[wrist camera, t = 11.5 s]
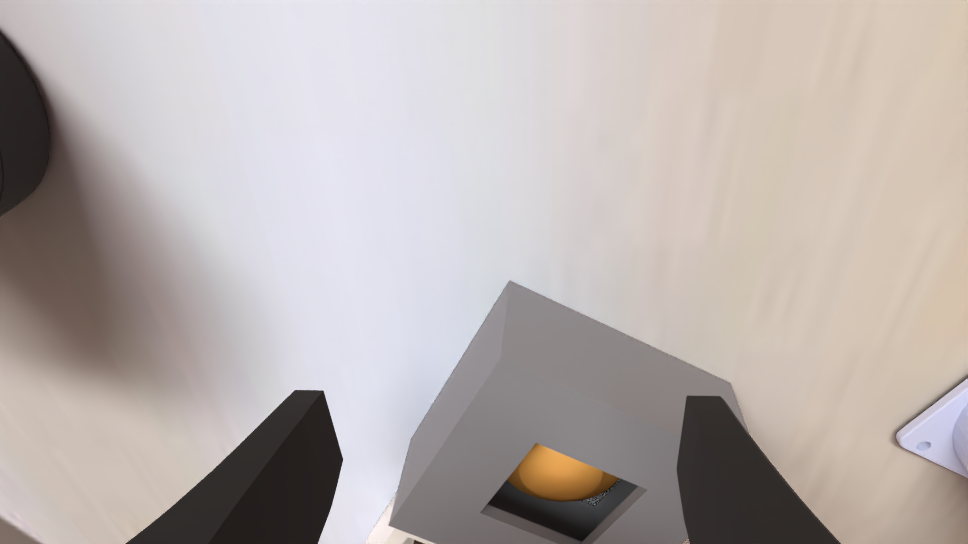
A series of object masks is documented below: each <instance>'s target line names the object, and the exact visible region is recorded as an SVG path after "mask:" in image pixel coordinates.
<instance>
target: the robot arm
mask: <svg viewBox="0 0 968 544" xmlns="http://www.w3.org/2000/svg"><path fill="white" fill-rule="evenodd" d="M896 439H897V441H898V443H899V444H900V446H902V447H903V448H905V449H907V450H909V451H911V452H913V453H915V454H917V455H920V456H922V457H924V458H926V459H928V460H930V461H932V462H934V463H937V464H939V465H941V466H943V467H945V468H947V469H949V470H951V471H954V472H956V473H958V474H960V475H962V476H964V477H966V478H968V378H967V379H966V380H965V381H963V382H962V383H961V384H959V385H958V386H957V387H955V388H954V389H953V390H952V391H950V392H949V393H948V394H946V395H945V396H944V397H942V398H941V399H940V400H939V401H937V402H936V403H935V404H933V405H932V406H931V407H929V408H928V409H927V410H925V411H924V412H923V413H922V414H920V415H919V416H918V417H916V418H915V419H914V420H912V421H911V422H910V423H909V424H907V425H906V426H905V427H903V428H902V429H901V430H900V431H899V432H898V433H897V435H896ZM342 462H343V458H342V454H341V451H340V447H339V444H338V440H337V437H336V433H335V430H334V426H333V423H332V419H331V416H330V412H329V409H328V405H327V402H326V398H325V395H324V391H318V390H295V391H294V392H293V393H292V394H291V395H290V396H288V397H287V398H286V399H285V400H284V401H283V402H282V403H281V404H280V405H279V406H278V407H277V408H276V409H275V410H274V411H273V412H272V413H271V414H270V415H269V416H268V417H267V418H266V419H265V420H264V421H263V422H262V423H261V424H260V425H259V426H258V427H257V428H256V429H255V430H254V431H253V432H252V433H251V434H250V435H249V436H248V437H247V438H246V439H245V440H244V441H243V442H242V443H241V444H240V445H239V446H238V447H237V448H236V449H235V450H234V451H233V452H232V453H230V454H229V455H228V456H227V457H226V458H225V459H224V460H223V461H222V462H221V463H220V464H219V465H218V466H217V467H216V468H215V469H214V470H213V471H212V472H210V473H209V474H208V475H207V476H206V477H205V478H204V479H203V480H201V481H200V482H199V483H198V484H197V485H196V486H195V487H194V488H192V489H191V490H190V491H189V492H188V493H187V494H186V495H185V496H183V497H182V498H181V499H180V500H179V501H178V502H177V503H176V504H174V505H173V506H172V507H171V508H170V509H169V510H167V511H166V512H165V513H164V514H163V515H161V516H160V517H159V518H158V519H157V520H155V521H154V522H153V523H152V524H150V525H149V526H148V527H147V528H145V529H144V530H143V531H142V532H140V533H139V534H138V535H136V536H135V537H134V538H132V539H131V540H130V541H129V542H127V543H126V544H318V541H319V538H320V536H321V533H322V530H323V528H324V525H325V523H326V520H327V517H328V514H329V512H330V509H331V506H332V502H333V498H334V495H335V491H336V487H337V483H338V479H339V474H340V470H341V466H342ZM676 470H677V477H678V484H679V491H680V498H681V504H682V510H683V516H684V522H685V526H686V530H687V534H688V537H689V541H690V544H841V543H840V542H839V541H838V540H837V539H836V538H835V537H834V536H833V535H832V534H831V533H830V531H829V530H828V529H827V528H826V527H825V526H824V525H823V524H822V523H821V522H820V520H819V519H818V518H817V517H816V516H815V515H814V514H813V513H812V511H811V510H810V509H809V508H808V507H807V506H806V505H805V503H804V502H803V501H802V500H801V499H800V498H799V496H798V495H797V494H796V493H795V492H794V490H793V489H792V488H791V487H790V486H789V484H788V483H787V482H786V481H785V480H784V478H783V477H782V476H781V475H780V473H779V472H778V471H777V470H776V469H775V467H774V466H773V465H772V464H771V462H770V461H769V460H768V459H767V457H766V456H765V455H764V453H763V452H762V451H761V449H760V448H759V447H758V445H757V444H756V443H755V442H754V440H753V439H752V438H751V436H750V435H749V434H748V432H747V431H746V429H745V428H744V427H743V425H742V424H741V423H740V421H739V420H738V418H737V417H736V416H735V414H734V413H733V411H732V410H731V409H730V407H729V406H728V404H727V403H726V401H725V400H724V399H723V398H722V397H721V396H687V397H686V404H685V411H684V418H683V425H682V432H681V439H680V446H679V454H678V461H677V468H676Z"/></svg>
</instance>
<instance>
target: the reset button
mask: <svg viewBox="0 0 968 544" xmlns="http://www.w3.org/2000/svg"><path fill="white" fill-rule="evenodd" d="M618 479H619V478H618V477H616V476H614V475H611V474H609V473H606V472H604V471H602V470H599V469H597V468H595V467H592V466H590V465H587V464H585V463H583V462H580V461H578V460H576V459H573V458H571V457H568V456H566V455H564V454H561V453H559V452H556V451H554V450H552V449H549V448H547V447H545V446H542V445H540V444H537V443H536V444H535V445H534V446H533V448H532V449H531V450H530V451H529V453H528V454H527V455H526V456H525V457H524V459H523V460H522V461H521V462H520V464H519V465H518V466H517V467H516V469H515V470H514V471H513V472H512V474H511V475H510V476H509V477H508V479H507V480H508V481H509V482H510V483H511V484H512V485H513V486H515V487H516V488H517V489H519V490H520V491H522V492H524V493H526V494H528V495H530V496H533V497H536V498H540V499H543V500H549V501H557V502H571V501H579V500H584V499H588V498H591V497H594V496H597V495H599V494H601V493H603V492H605V491H606V490H607V489H609V488H610V487H611V486H613V485H614V484H615V483H616V481H617V480H618Z"/></svg>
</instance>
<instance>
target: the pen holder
mask: <svg viewBox="0 0 968 544" xmlns="http://www.w3.org/2000/svg"><path fill="white" fill-rule="evenodd" d="M48 157H49V127H48V122H47V117H46V112H45V109H44V106H43V103H42V100H41V97H40V95H39V93H38V91H37V88H36V86H35V84H34V82H33V80H32V78H31V76H30V75H29V73H28V71H27V69H26V68H25V66H24V64H23V63H22V61H21V60H20V59H19V57H18V56H17V54H16V53H15V51H14V50H13V49H12V48H11V46H10V45H9V44H8V43H7V41H6V40H5V39H4V38H3V37H2V35H1V34H0V216H1V215H3V214H4V213H6V212H7V211H9V210H10V209H12V208H13V207H15V206H16V205H18V204H19V203H20V202H22V201H23V200H24V199H25V198H26V197H28V196H29V195H30V194H31V193H32V192H33V191H34V190H35V188H36V187H37V186H38V185H39V183H40V181H41V179H42V177H43V175H44V173H45V170H46V167H47V163H48Z"/></svg>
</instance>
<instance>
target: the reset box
mask: <svg viewBox="0 0 968 544" xmlns="http://www.w3.org/2000/svg"><path fill="white" fill-rule="evenodd" d="M687 396H721V397H722V398H723V399H724V400H725V401H726V403H727V404H728V406H729V407H730V409H731V410H732V411H733V413H734V414H735V416H736V417H737V418H738V420H739V421H740V423H741V424H742V425H743V427H744V428H745V429H746V431H747V432H748V430H747V427H746V424H745V422H744V419H743V416H742V413H741V411H740V408H739V405H738V402H737V400H736V397H735V394H734V392H733V389H732V386H731V383H729V382H727V381H725V380H723V379H720V378H718V377H716V376H714V375H712V374H710V373H707V372H705V371H703V370H701V369H699V368H697V367H695V366H692V365H690V364H688V363H686V362H684V361H682V360H679V359H677V358H675V357H673V356H671V355H669V354H667V353H664V352H662V351H660V350H658V349H656V348H654V347H651V346H649V345H647V344H645V343H643V342H641V341H639V340H636V339H634V338H632V337H630V336H628V335H626V334H623V333H621V332H619V331H617V330H615V329H613V328H611V327H608V326H606V325H604V324H602V323H600V322H598V321H596V320H593V319H591V318H589V317H587V316H585V315H583V314H580V313H578V312H576V311H574V310H572V309H570V308H568V307H565V306H563V305H561V304H559V303H557V302H555V301H552V300H550V299H548V298H546V297H544V296H542V295H540V294H537V293H535V292H533V291H531V290H529V289H527V288H524V287H522V286H520V285H518V284H516V283H514V282H512V281H509V282H508V284H507V285H506V287H505V288H504V290H503V292H502V293H501V295H500V296H499V298H498V300H497V301H496V303H495V304H494V306H493V308H492V309H491V311H490V313H489V314H488V316H487V317H486V319H485V321H484V322H483V324H482V325H481V327H480V329H479V330H478V332H477V334H476V335H475V337H474V338H473V340H472V342H471V343H470V345H469V346H468V348H467V350H466V351H465V353H464V355H463V356H462V358H461V359H460V361H459V363H458V364H457V366H456V367H455V369H454V371H453V372H452V374H451V375H450V377H449V379H448V380H447V382H446V384H445V385H444V387H443V388H442V390H441V392H440V393H439V395H438V396H437V398H436V400H435V401H434V403H433V405H432V406H431V408H430V409H429V411H428V413H427V414H426V416H425V417H424V419H423V421H422V422H421V424H420V426H419V427H418V429H417V430H416V432H415V434H414V435H413V437H412V438H411V441H410V445H409V449H408V452H407V456H406V460H405V464H404V468H403V471H402V475H401V479H400V483H399V487H398V490H397V494H396V498H395V502H394V506H393V510H392V513H391V517H390V521H389V525H388V526H391V527H393V528H396V529H398V530H401V531H404V532H406V533H409V534H412V535H414V536H417V537H420V538H422V539H425V540H427V541H430V542H433V543H435V544H681V543H683V542H684V541H685V540H686V539H687V538H689V537H688V534H687V530H686V526H685V522H684V516H683V510H682V504H681V498H680V491H679V484H678V477H677V470H676V468H677V461H678V454H679V446H680V439H681V432H682V425H683V418H684V411H685V404H686V397H687ZM748 434H749V432H748ZM536 443H537V444H540V445H542V446H545V447H547V448H549V449H552V450H554V451H556V452H559V453H561V454H564V455H566V456H568V457H571V458H573V459H576V460H578V461H580V462H583V463H585V464H587V465H590V466H592V467H595V468H597V469H599V470H602V471H604V472H606V473H609V474H611V475H614V476H616V477H618V478H621V480H620V481H619V482H618V483H617V484H616V485H615V486H614V487H613V488H612V489H611V490H610V491H609V493H608V494H607V495H606V496H605V497H604V498H603V499H602V500H601V501H600V502H599V503H598V504H597V505H596V506H593V505H590V504H588V503H585V502H583V501H580V500H579V501H571V502H557V501H549V500H543V499H540V498H536V497H533V496H530V495H528V494H526V493H524V492H522V491H520V490H519V489H517V488H516V487H515V486H513V485H512V484H511V483H510V482H509V481H508V480H507V479H508V477H509V476H510V475H511V474H512V472H513V471H514V470H515V469H516V467H517V466H518V465H519V464H520V462H521V461H522V460H523V459H524V457H525V456H526V455H527V454H528V453H529V451H530V450H531V449H532V448H533V446H534V445H535V444H536Z"/></svg>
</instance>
